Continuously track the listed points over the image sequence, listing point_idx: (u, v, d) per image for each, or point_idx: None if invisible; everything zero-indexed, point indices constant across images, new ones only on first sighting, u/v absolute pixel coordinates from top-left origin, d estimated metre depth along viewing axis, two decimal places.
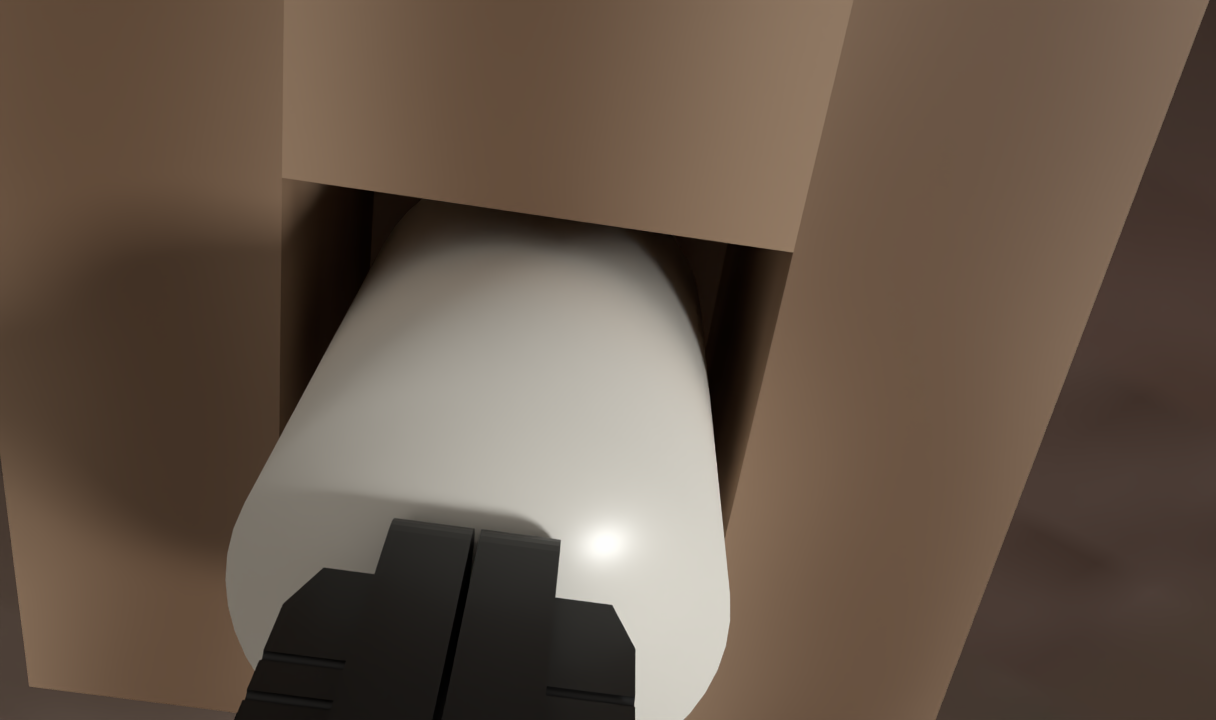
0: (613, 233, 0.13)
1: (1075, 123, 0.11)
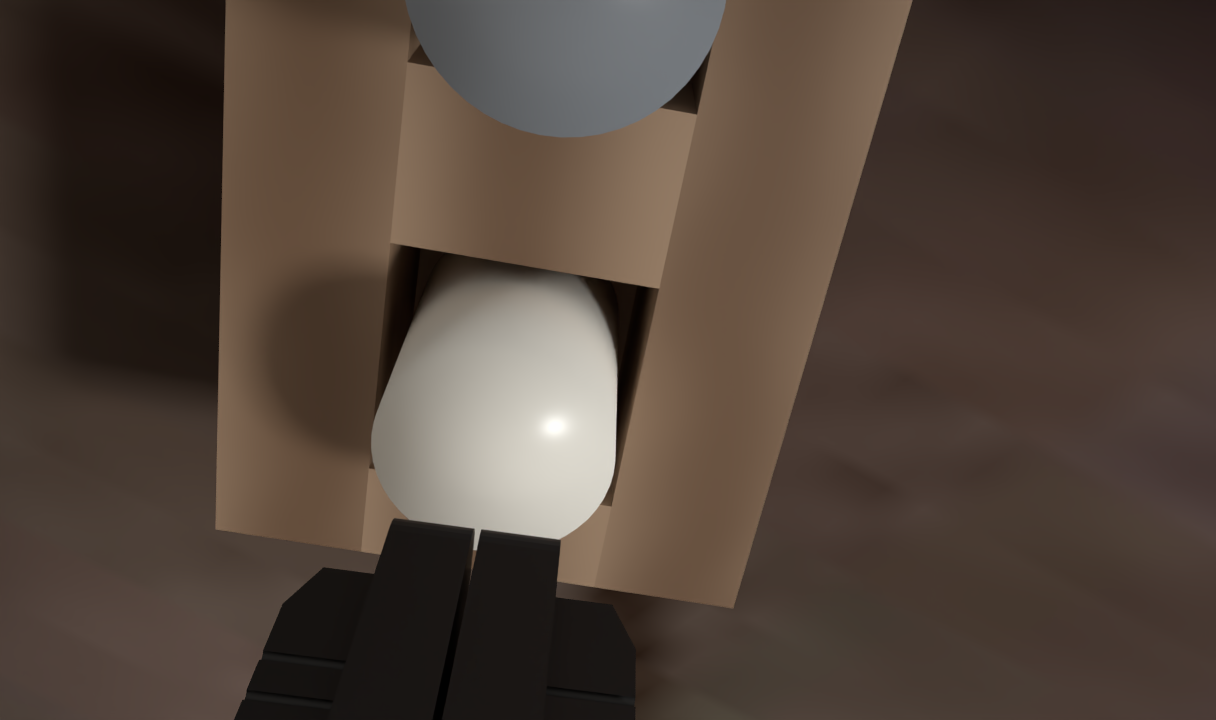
0: None
1: (801, 227, 0.22)
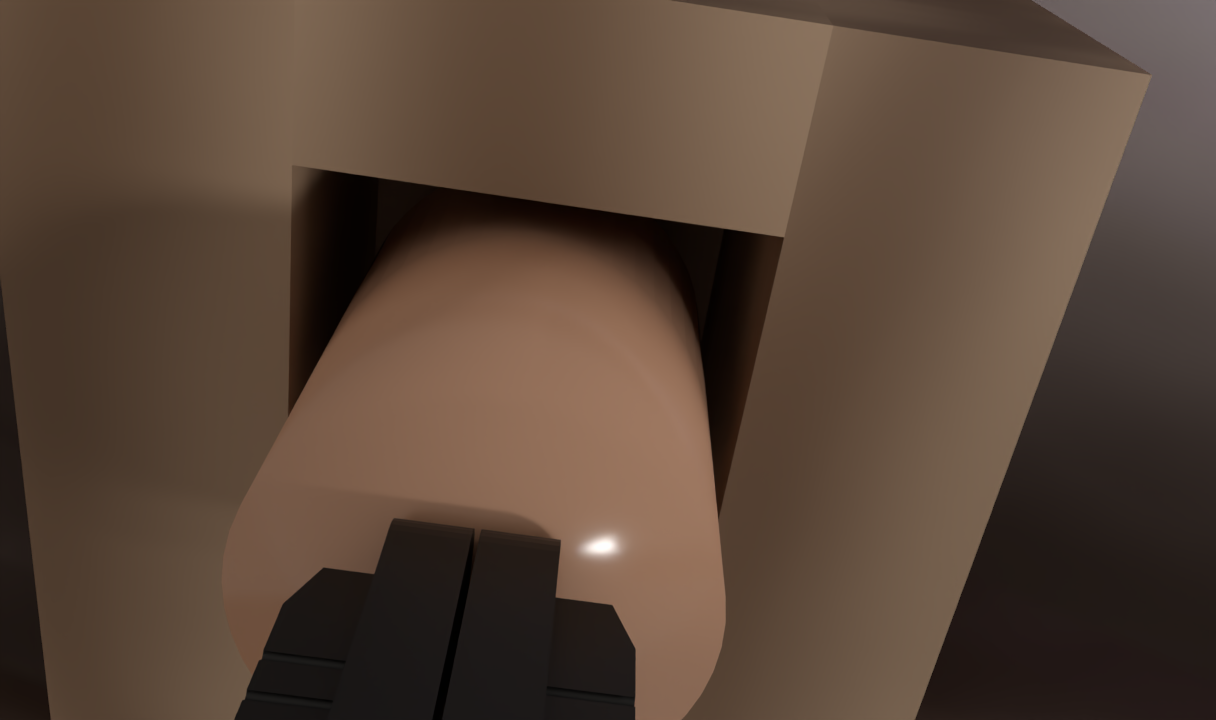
0: None
1: None
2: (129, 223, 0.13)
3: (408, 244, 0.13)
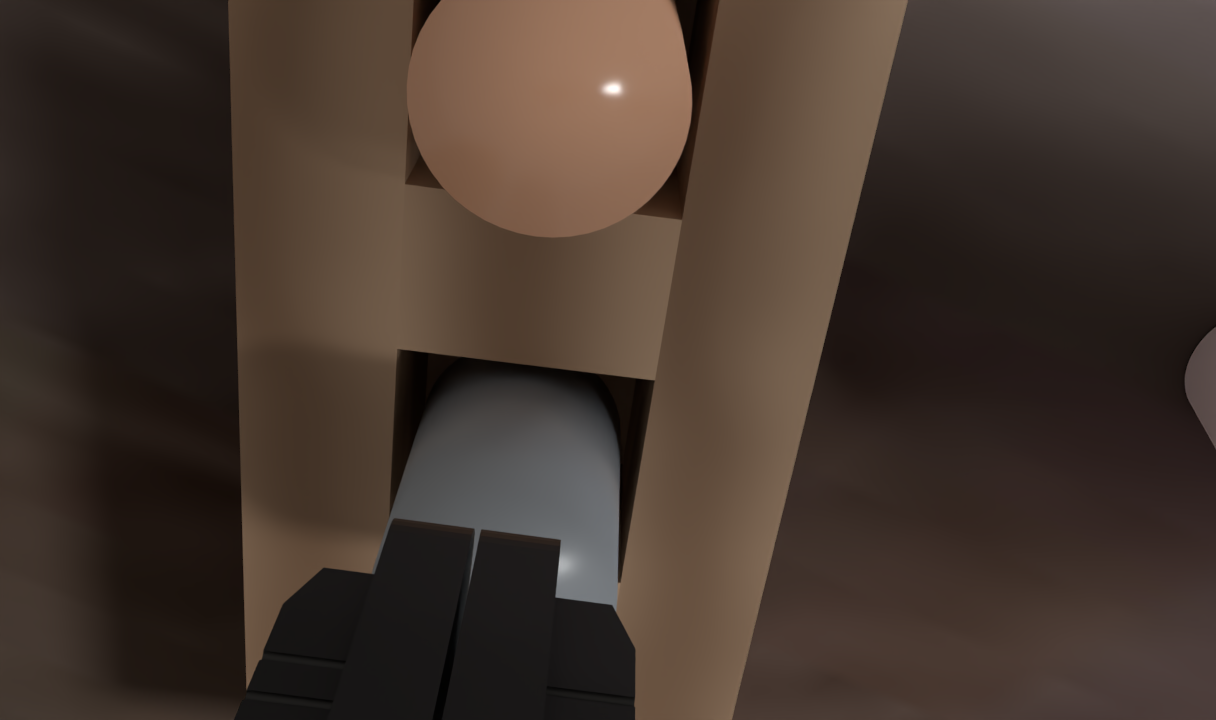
0: None
1: (712, 654, 0.27)
2: None
3: None
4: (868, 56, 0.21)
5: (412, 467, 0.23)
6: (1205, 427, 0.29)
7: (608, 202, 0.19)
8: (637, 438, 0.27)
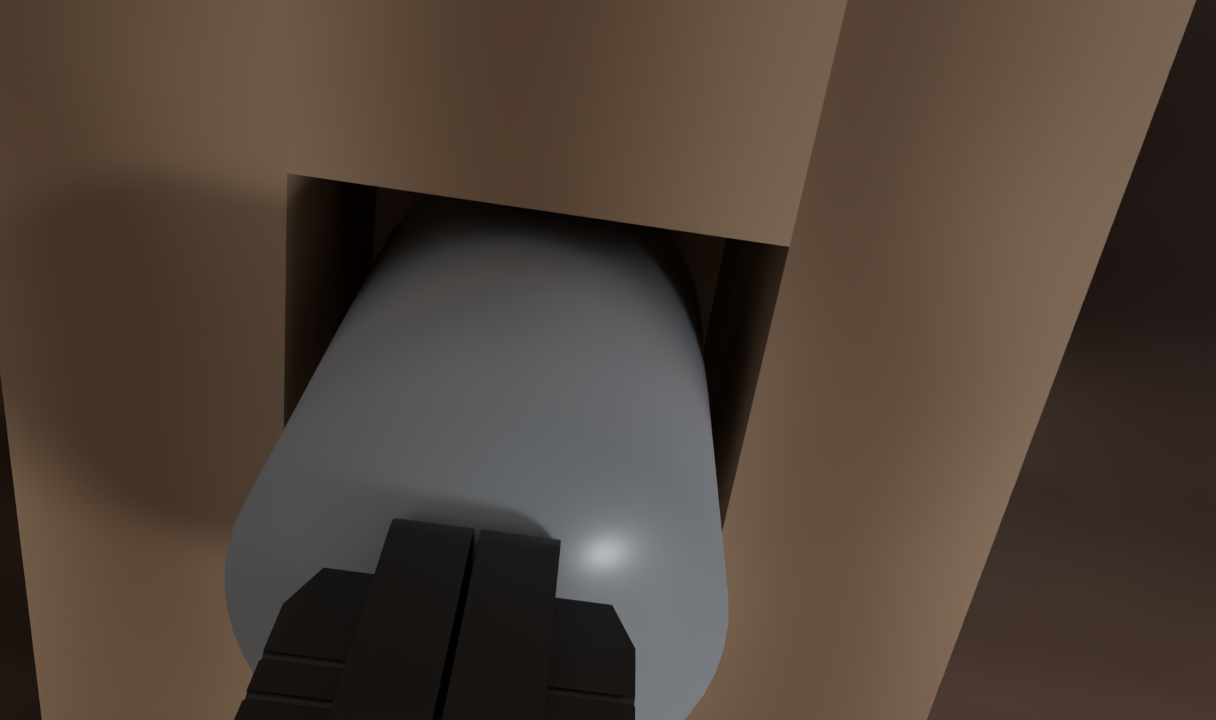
0: None
1: None
2: None
3: None
4: None
5: (325, 360, 0.12)
6: None
7: None
8: (731, 374, 0.15)
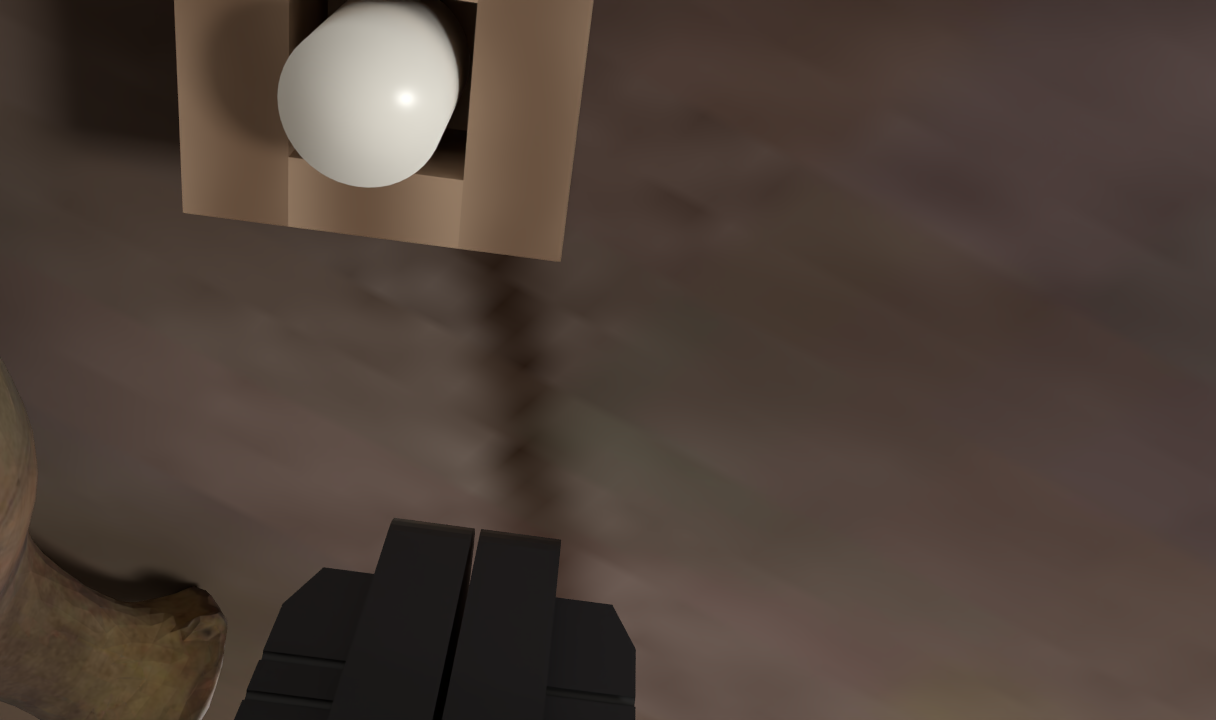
0: (420, 2, 0.34)
1: None
2: None
3: None
4: None
5: None
6: None
7: None
8: None
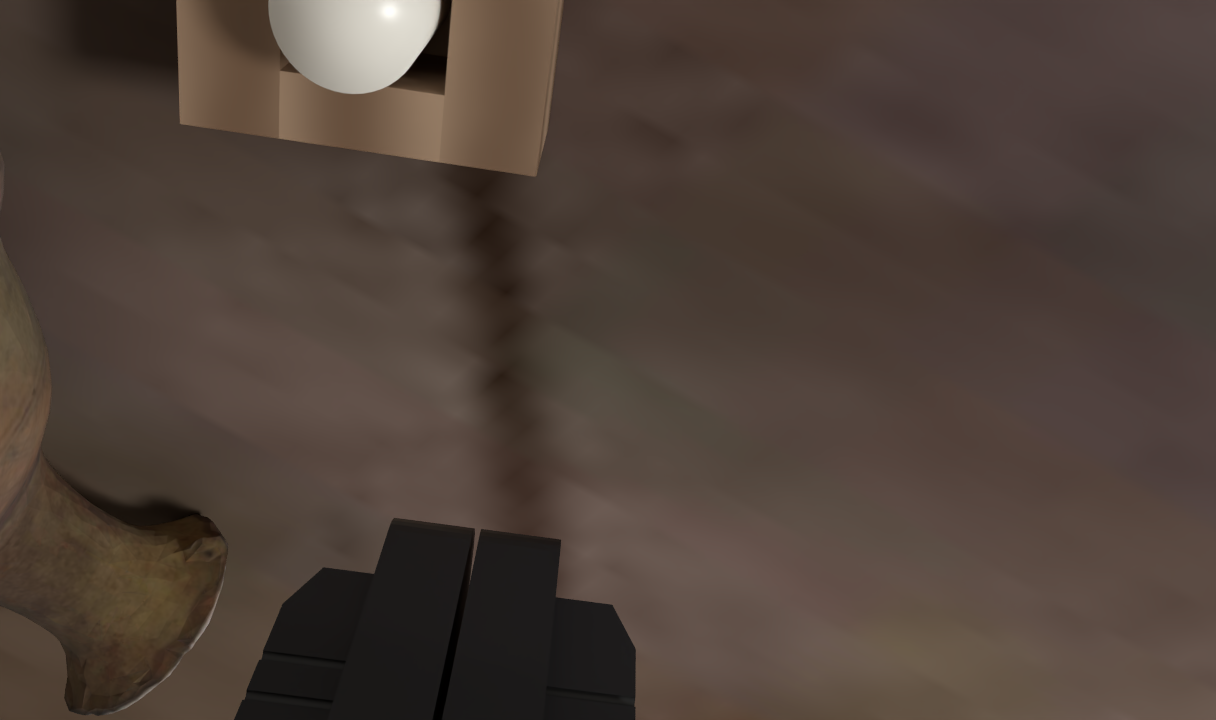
0: None
1: None
2: None
3: None
4: None
5: None
6: None
7: None
8: None
